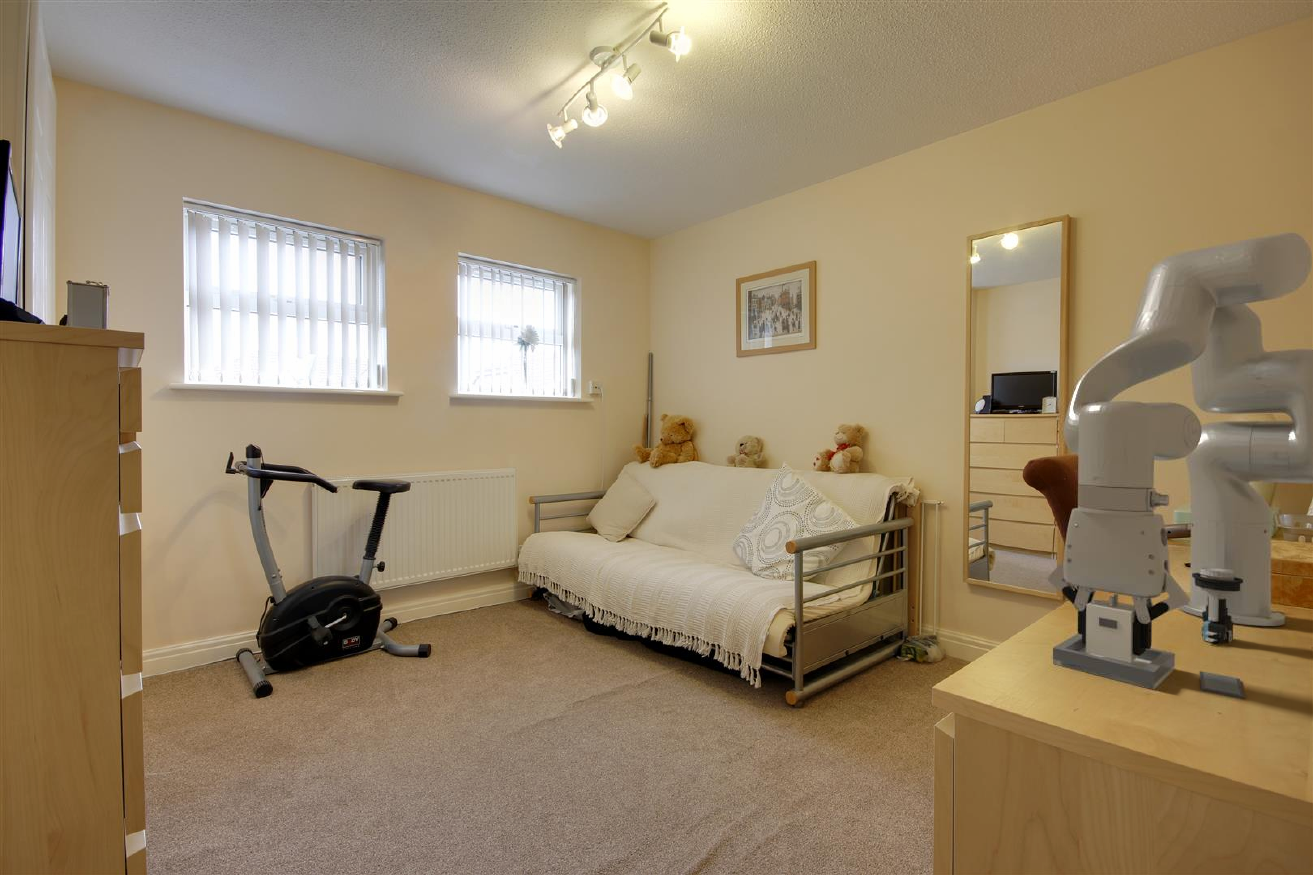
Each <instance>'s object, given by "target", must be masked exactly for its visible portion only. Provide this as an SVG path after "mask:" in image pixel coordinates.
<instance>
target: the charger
mask: <svg viewBox="0 0 1313 875" xmlns="http://www.w3.org/2000/svg"><path fill="white" fill-rule="evenodd" d="M1136 616H1137V614H1136V610H1135V607H1134V604H1129V603H1123V602H1120V601H1119V594H1116V593H1113V596H1112V595H1111V596H1109V599H1108V600H1106V599H1102V598H1101V599H1100V598H1096V599H1095V600H1094V599H1093V601H1092V602H1090V603H1088V604H1086V652H1087V653H1091V654H1095V655H1099V656H1103V657H1108V658H1112V659H1116V660H1120V661H1124V662H1129V663H1131V662H1132V661H1134V660H1135V659H1136V658H1137V657H1139V656H1137V655H1134V654H1133V622H1135V621H1136Z"/></svg>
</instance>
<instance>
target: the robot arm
mask: <svg viewBox="0 0 1313 875" xmlns="http://www.w3.org/2000/svg"><path fill="white" fill-rule="evenodd" d="M1312 256H1313V255H1312V250H1311V248H1310V246H1309V243H1308V242H1307V240H1306V239H1305V238H1304V237H1302V236H1301V235H1300V234H1298V233H1296V232H1291V231H1290V232H1289V231H1288V232H1282V233H1276V234H1271V235H1267V236H1262V237H1255V238H1249V239H1243V240H1239V241H1233V242H1229V243H1223V244H1218V245H1213V246H1207V247H1204V248H1199V249H1193V250H1188V251H1185V252H1179V253H1177V254H1173V255H1170V256H1168V257H1165V258H1164V259H1161V260H1160V261H1158V262H1156V264H1155V265H1154V266H1153V267H1151V269H1150V271H1149V272H1148V274H1147V277H1146V279H1145V281H1144V286H1143V289H1142V292H1141V296H1140V298H1139V301H1138V304H1137V308H1136V312H1135V314H1134V318H1133V322H1132V324H1131V328H1130V331H1129V335H1128V337H1127V339H1126V340H1125V341H1123V342H1121V343H1120V344H1118V345H1117V346H1115V347H1114V348H1112V349H1111V350H1110V351H1108V352H1107V353H1106V354H1104V355H1103V356H1102V357H1101V358H1100V359H1098V360H1097V361H1096V362H1095V363H1094V364H1093V365H1092V366H1090V367H1089V368H1088V369H1087V370H1086V371H1085V372H1084V373H1083V375H1082V376H1081V377H1080V378H1079V380H1078V382H1076V385H1075V387H1074V388H1073V392H1072V395H1071V398H1070V400H1069V401H1070V402H1069V405H1068V407H1067V411H1066V415H1065V419H1064V423H1063V438H1064V442H1065V444H1066V447H1067V448H1068V450H1069V451H1070V452H1072V453H1073V454H1075V455H1077V456H1078V460H1077V462H1078V464H1077V466H1078V469H1077V470H1078V471H1077V473H1078V474H1077V479H1078V480H1077V483H1078V484H1077V507H1075V508H1072V509H1071V513H1070V517H1069V521H1068V525H1067V530H1066V535H1065V536H1066V538H1065V543H1064V544H1065V546H1064V553H1063V561H1062V562H1060V563H1059V564H1058V565H1057V567H1055V569H1054V570H1053V571H1052V572H1051V573H1050V574H1049V575H1048V576H1047V581H1048V583H1050V584H1051V585H1052V586H1054V587H1055V588H1056V589H1057V590H1058V591H1060V592H1061V593H1062V594H1063V596H1065V598H1067V600H1068V601H1069V602H1070V603H1071V604H1072V605H1073V608H1074V609H1075V610H1076V611H1077V634H1082V643H1085V644H1086V604H1088V603H1090V602H1092V601H1094V598H1095V594H1096V591H1097V592H1098V591H1100V592H1104V593H1111V594H1118V595H1123V596H1129V597H1131V598H1132V603H1133V605H1134V607H1135V610H1136V614H1137V616H1136V621H1135V622H1133V654H1134V655H1137V656H1140V655H1142V654H1143V653H1144V652H1145V651H1146V649H1150V648H1152V637H1153V636H1152V635H1153V632H1152V631H1153V628H1152V626H1153V624H1152V623H1153V622H1152V621H1154V620H1156V619H1157V618H1159V617H1161V616H1162V615H1164V614H1166V613H1168V612H1171V611H1173V610H1176V609H1178V608H1179V610H1181V611H1182V612H1185V613H1188V614H1190V615H1193V616H1197V617H1201V618H1202V612H1203V611H1206V606H1207V605H1208V596H1209V593H1208V592H1207V591H1205V590H1202V589H1201V587H1198V586H1196V585H1195V578H1194V577H1192V574H1193V573H1199V572H1201V568H1202V567H1211V568H1221V569H1227V570H1231V571H1234V576H1236V577H1237V578H1240V579H1243V583H1241V584H1240V591H1236V592H1234V593H1232V594H1225V599H1226V607H1227V608H1228V615H1230V616H1231V621H1233V624H1237V625H1238V624H1239V625H1244V626H1258V627H1259V626H1260V627H1278V626H1283V625H1284V624H1285V621H1286V617H1285V616H1284V615H1283V614H1282V613H1280V612H1278V611H1275V610H1272V609H1271V607H1272V606H1271V601H1272V599H1271V598H1272V595H1271V594H1272V593H1271V592H1272V582H1271V581H1272V523H1273V522H1272V518H1273V517H1272V510H1271V507H1270V505H1269V504H1268V502H1267V500H1265V498H1264V497H1263V496H1262V495H1261V494H1260V493H1259V492H1258V491H1257V490H1256V489H1255V488H1254V487H1253V486H1252V485H1251V484H1250V483H1251V482H1254V483H1255V482H1258V483H1259V482H1265V483H1266V482H1267V483H1285V484H1287V483H1289V484H1313V349H1309V348H1308V349H1307V348H1306V349H1305V348H1301V349H1300V348H1297V349H1285V350H1275V351H1274V350H1273V351H1271V350H1270V351H1266V350H1265V349H1264V347H1263V334H1262V322H1261V319H1260V317H1259V316H1258V314H1256V312H1255V311H1254V310H1253V309H1252V308H1250V307H1249V306H1248V305H1247V304H1250V303H1257V302H1264V301H1269V300H1270V301H1271V300H1275V299H1279V298H1281V297H1284V296H1287V295H1288V294H1291V293H1294V292H1295V291H1297V290H1299V289H1300V288H1301V287H1302V286H1303V285H1304V284H1305V282H1306V281H1307V280H1308V279H1309V278H1308V277H1309V276H1310V273H1311V271H1312V270H1311V269H1312V263H1313V257H1312ZM1189 364H1190V371H1191V372H1190V373H1191V376H1190V377H1191V387H1192V395H1193V400H1194V403H1195V405H1196V406H1197V407H1198V408H1199V409H1200V410H1201V411H1203V412H1206V413H1210V414H1211V413H1212V414H1220V415H1221V414H1225V415H1226V414H1228V415H1229V414H1230V415H1234V414H1239V415H1240V414H1242V415H1243V414H1285V415H1287V416H1289V417H1290V419H1291V420H1272V421H1271V420H1270V421H1269V420H1267V421H1266V420H1265V421H1263V420H1262V421H1259V420H1253V421H1252V420H1250V421H1249V420H1245V421H1242V420H1241V421H1239V420H1238V421H1236V420H1234V421H1233V420H1232V421H1215V422H1210V423H1209V422H1208V423H1205V424H1202V423H1201V421H1200V419H1199V418H1198V416H1197V414H1196V413H1195V412H1194V411H1193V410H1192V409H1191V408H1189V407H1188V406H1186V405H1183V404H1182V403H1176V402H1170V401H1168V402H1165V401H1164V402H1163V401H1162V402H1158V401H1157V402H1141V401H1131V400H1130V401H1127V400H1126V401H1112V400H1113V399H1115V397H1116V396H1118V395H1119V394H1121V393H1123V392H1124V391H1126V390H1128V389H1130V388H1131V387H1134V386H1136V385H1138V384H1141V383H1143V382H1146V381H1148V380H1152V379H1154V378H1157V377H1160V376H1162V375H1165V374H1167V373H1170V372H1172V371H1175V370H1177V369H1180V368H1182V367H1185V366H1186V365H1189ZM1183 458H1184V459H1185V462H1186V468H1187V472H1188V476H1189V478H1188V479H1189V484H1190V485H1189V486H1190V509H1191V510H1190V583H1189V584H1190V590H1189V591H1190V596H1189V595H1188V594H1187V593H1186V592H1185V590H1184V589H1183V588H1182V587H1181V586H1180V585H1179V583H1178V582H1177V581H1176V580H1175V578H1174V577H1173V576H1172V574H1171V570H1170V569H1171V568H1170V554H1169V553H1170V552H1169V544H1168V542H1169V541H1168V534H1167V530H1166V524H1165V521H1164V517H1163V515H1162V514H1160V513H1159V514H1158V513H1155V512H1154V510H1156V508H1157V507H1161V506H1164V507H1165V506H1166V507H1168V506H1169V505H1170V495H1169V494H1162V493H1159V492H1158V491H1156V488H1155V486H1154V482H1155V481H1154V480H1155V479H1154V478H1155V474H1154V473H1155V469H1154V468H1155V461H1165V462H1166V461H1175V460H1180V459H1183ZM1077 587H1078V588H1077ZM1164 593H1167V594H1168V598H1166V599H1163V600H1160V601H1159V602H1158V601H1157V603H1155V604H1154V603H1153V599H1154V598H1155V599H1156V598H1157V597H1160V596H1161V594H1164Z"/></svg>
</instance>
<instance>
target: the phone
mask: <svg viewBox="0 0 1313 875" xmlns="http://www.w3.org/2000/svg"><path fill="white" fill-rule="evenodd" d="M1199 678H1200V679H1199V680H1200V690H1201V692H1206V693H1211V694H1216V695H1220V696H1224V697H1230V698H1235V699H1239V700H1246V699H1245V694H1244V690H1243V687H1242V682H1241V679H1240V678H1237V677H1233V676H1227V675H1221V674H1218V673H1213V672H1206V671H1199Z"/></svg>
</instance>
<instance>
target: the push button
mask: <svg viewBox="0 0 1313 875" xmlns="http://www.w3.org/2000/svg"><path fill="white" fill-rule="evenodd" d="M1192 577H1194V578H1195V585H1196V586H1198V587H1201V589H1202V590H1205V591H1207V592H1208V593H1209V596H1208V605H1207V606H1206V611H1203V612H1202V617H1201V619H1202V621H1203V625H1202V626H1201V637H1203V639H1202V640H1203V641H1204V642H1209V643H1211V644H1212V643H1213V644H1218V645H1221V644H1223V643H1225V642H1227V641H1228V642H1229V643H1231V642H1232V641H1233V638H1234V623H1233V621H1231V616H1230V615H1228V608H1227V607H1226V599H1225V594H1232V593H1234V592H1236V591H1240V584H1241V583H1243V579H1240V578H1237V577H1236V576H1234V571H1231V570H1227V569H1221V568H1211V567H1202V568H1201V572H1199V573H1193V574H1192Z"/></svg>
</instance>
